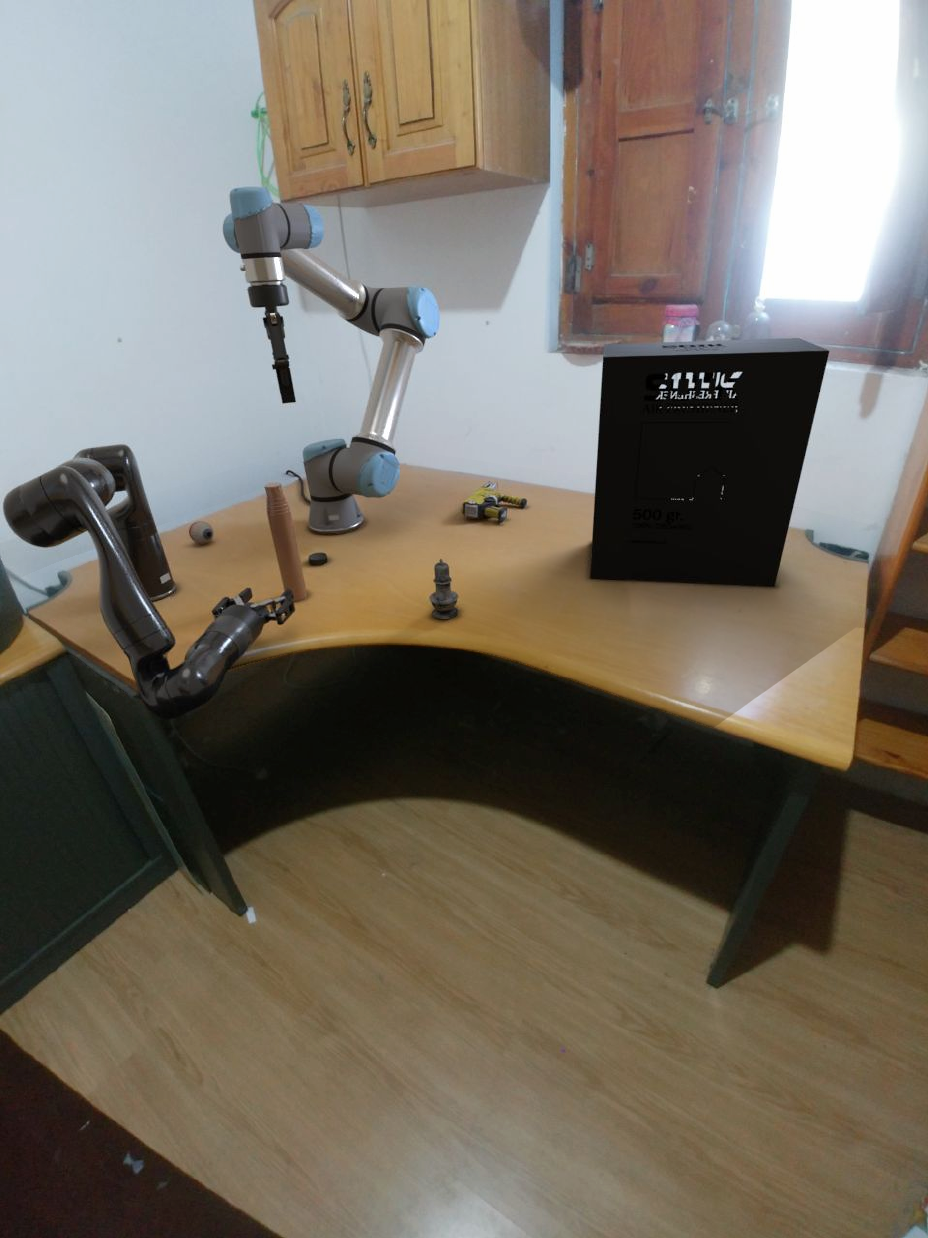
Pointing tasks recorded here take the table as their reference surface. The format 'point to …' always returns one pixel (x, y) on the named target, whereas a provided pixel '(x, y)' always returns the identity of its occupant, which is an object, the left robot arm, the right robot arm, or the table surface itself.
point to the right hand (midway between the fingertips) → (287, 397)
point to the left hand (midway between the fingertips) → (269, 592)
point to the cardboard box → (701, 458)
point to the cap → (317, 559)
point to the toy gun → (489, 503)
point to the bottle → (285, 541)
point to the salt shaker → (443, 593)
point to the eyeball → (201, 532)
